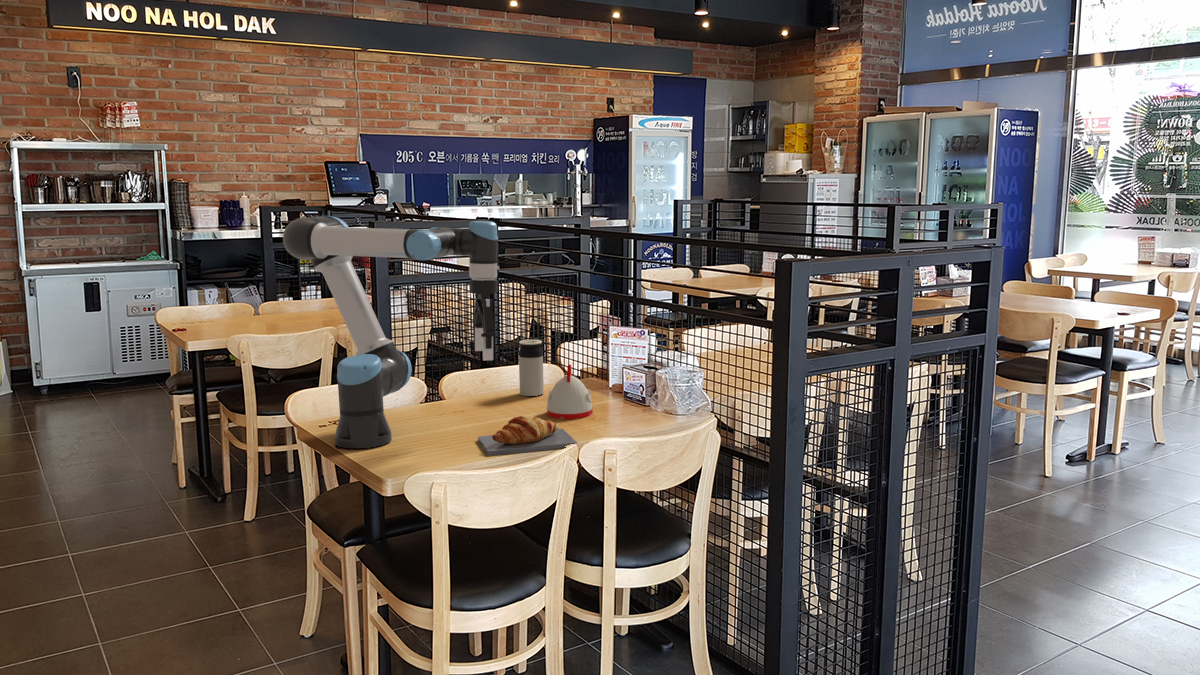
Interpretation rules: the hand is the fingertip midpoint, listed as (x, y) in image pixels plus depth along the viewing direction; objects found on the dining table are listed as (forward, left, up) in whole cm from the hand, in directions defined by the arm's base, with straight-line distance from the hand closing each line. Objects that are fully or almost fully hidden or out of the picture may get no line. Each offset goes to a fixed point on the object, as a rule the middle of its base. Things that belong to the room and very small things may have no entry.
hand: (483, 355), depth 251 cm
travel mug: (+24, +46, -23) cm, 57 cm away
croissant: (+9, -11, -22) cm, 26 cm away
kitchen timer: (+29, +17, -23) cm, 41 cm away
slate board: (+9, -11, -23) cm, 27 cm away
